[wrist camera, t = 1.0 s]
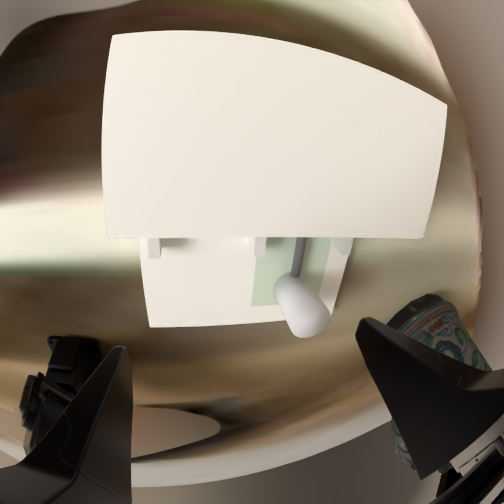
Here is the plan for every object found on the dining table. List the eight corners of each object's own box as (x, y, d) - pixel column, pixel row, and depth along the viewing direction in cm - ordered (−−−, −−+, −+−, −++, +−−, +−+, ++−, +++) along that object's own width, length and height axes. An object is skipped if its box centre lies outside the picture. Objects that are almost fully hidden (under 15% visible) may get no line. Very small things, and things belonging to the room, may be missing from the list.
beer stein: (442, 330, 39) (518, 417, 18) (359, 393, 41) (422, 500, 19) (443, 270, 31) (559, 379, 10) (336, 352, 32) (429, 510, 11)
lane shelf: (326, 307, 28) (368, 367, 20) (150, 318, 24) (145, 397, 16) (367, 101, 19) (447, 105, 11) (144, 72, 15) (112, 35, 7)
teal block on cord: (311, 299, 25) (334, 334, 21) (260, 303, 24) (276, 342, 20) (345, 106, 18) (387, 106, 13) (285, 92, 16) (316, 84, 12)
